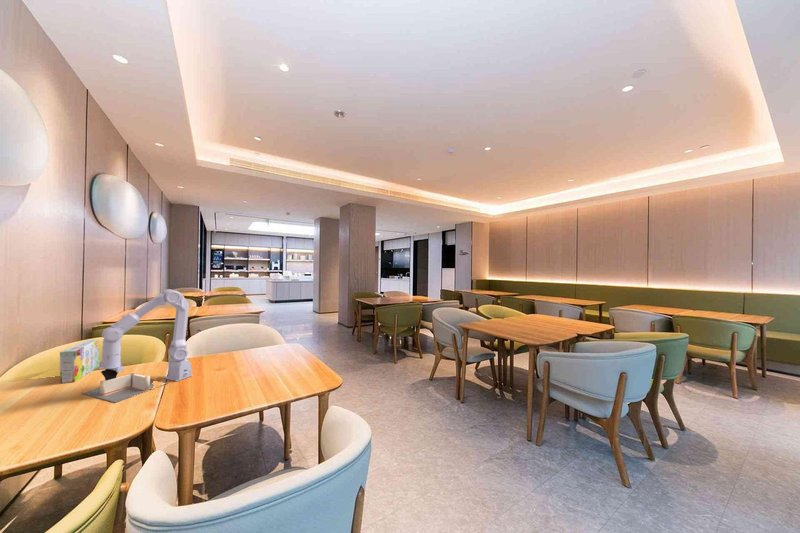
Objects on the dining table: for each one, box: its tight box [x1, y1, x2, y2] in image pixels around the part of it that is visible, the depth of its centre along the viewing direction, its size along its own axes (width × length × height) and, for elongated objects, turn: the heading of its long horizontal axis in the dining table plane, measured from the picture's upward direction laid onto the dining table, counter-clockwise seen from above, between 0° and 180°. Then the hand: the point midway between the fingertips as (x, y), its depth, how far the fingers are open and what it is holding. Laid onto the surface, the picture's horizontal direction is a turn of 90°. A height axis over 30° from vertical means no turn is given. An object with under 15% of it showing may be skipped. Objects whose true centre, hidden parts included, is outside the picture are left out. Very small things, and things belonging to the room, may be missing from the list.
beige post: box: [99, 372, 135, 395], centre depth 126 cm, size 12×2×5 cm, turn 157°
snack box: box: [59, 338, 100, 384], centre depth 142 cm, size 21×6×15 cm, turn 25°
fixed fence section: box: [132, 373, 151, 391], centre depth 129 cm, size 10×2×6 cm, turn 73°
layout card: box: [81, 378, 169, 404], centre depth 129 cm, size 22×20×1 cm
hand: (110, 385), depth 125 cm, fingers closed, pressing on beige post
